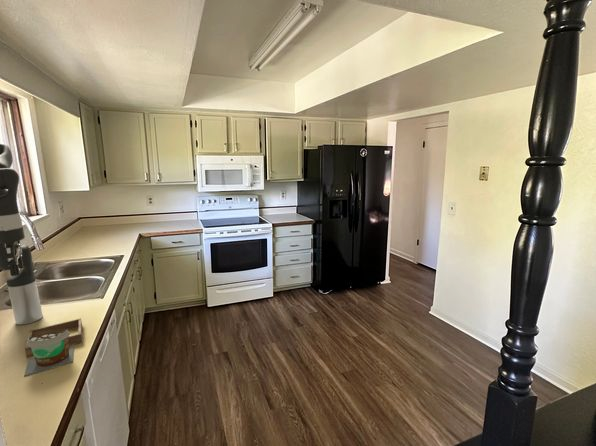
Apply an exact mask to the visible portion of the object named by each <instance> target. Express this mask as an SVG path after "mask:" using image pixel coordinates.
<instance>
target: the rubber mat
mask: <svg viewBox="0 0 596 446" xmlns="http://www.w3.org/2000/svg"><path fill="white" fill-rule="evenodd" d="M73 362H74V347H73V346H72V347H69V356H68V357H67V358H66V359H65V360H63V361H61V362H59V363H57V364H54V365H51V366H46V367H41V366H38V365H37V363H36V360H35V357H33V358H28V360H27V363H26V367H25V372H24V376H23V377H24V378H25V377H28V376H31V375H35V374H38V373H42V372H44V371H45V372H46V371H48V370H51V369H54V368H58V367H62V366H64V365H65V366H66V365H67V364H72V363H73Z"/></svg>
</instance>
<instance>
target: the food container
mask: <svg viewBox="0 0 596 446" xmlns="http://www.w3.org/2000/svg"><path fill="white" fill-rule="evenodd" d="M68 336H71V333H70V331H69V330H66V331H63V332H59V333H49V334H45V335H41V336H35V337H31V336H30V335H29V334H28V336H27V340H26V343H27V345H28V346H29V347H31V349H32V352H33V355H34V356H33V358H35V360H36V363H37V365H38V366H41V367H46V366H51V365H54V364H57V363H59V362H61V361H63V360H65V359H66V358H67V357H68V356H69V348H70V346H69V343H68Z"/></svg>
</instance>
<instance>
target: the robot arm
mask: <svg viewBox="0 0 596 446" xmlns="http://www.w3.org/2000/svg"><path fill="white" fill-rule="evenodd" d="M12 165H13V153H12V151H11V148H10V147H9V145H7V144H6V143H0V271H3V272H4V271H9V272H10V275H11V276H9V277H8V278H7V279H6V285H7V289H8V290H7V291H8V294H9V298H10V303H11V308H12V314H13V317H14V322H15V324H16V325H18V326H19V325H20V326H23V325H28V324H32V323H34V322H36V321H39V320H40V319H42V317H43V311H42V310H43V309H42V305H41V300H40V296H39V289H38V286H37V280H36V275H35V270H34V265H33V256H32V251H31V248H30V247H29V246H28V245H27V244H23V245H22V244H21V241H23V240H24V239H25V238H26V237H25V236H26V235H25V231H24V226H23V222H22V218H21V215H20V211H19V207H18V198H17V197H18V195H17V194H18V188H19V183H20V176H19V174H18V172H17V171H16V170H15V169H13V168H11V167H12Z"/></svg>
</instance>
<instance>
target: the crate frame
mask: <svg viewBox="0 0 596 446" xmlns="http://www.w3.org/2000/svg"><path fill="white" fill-rule="evenodd" d="M74 329H78V333H75V334H72V335H71V334H70V335H69V336H68V343H69V347H70V346H74V345H77V344H80V343H81V344H82V343H83V323H82V318H76V319H72V320H68V321H64V322H59V323H55V324H51V325H47V326H42V327H39V328H35V329H29V332H28V336H29V335H30V336H31V337H35V336H41V335H45V334H49V333H64V332H65V331H66V330H68V331H69V330H70V331H71V330H74ZM24 352H25V356H26V358H30V357H34V355H33V352H32V349H31V347H29V346H28V345H27V342H26V344H25V346H24Z"/></svg>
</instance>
